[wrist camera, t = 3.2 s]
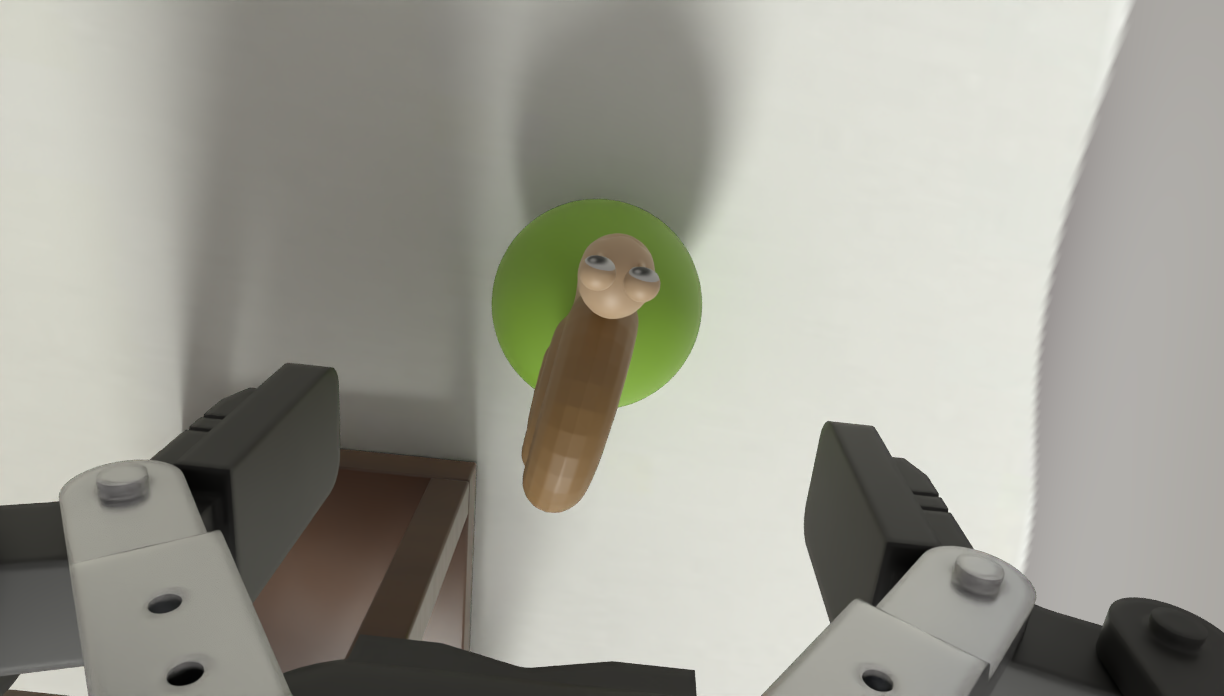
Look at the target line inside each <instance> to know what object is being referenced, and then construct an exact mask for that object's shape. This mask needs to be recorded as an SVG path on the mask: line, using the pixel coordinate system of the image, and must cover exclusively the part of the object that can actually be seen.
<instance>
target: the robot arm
mask: <svg viewBox="0 0 1224 696" xmlns="http://www.w3.org/2000/svg"><path fill="white" fill-rule="evenodd" d="M339 463H340V419H339V381H338V375H337V372H336V370H335V369H334V368H332V367H323V366H313V365H304V364H295V363H286V364H284V365H283V366H282V367H281V368H280V369H279V370H277V371H276V372H275V373H274V374H273V375H272V376H271V377H270V378H268V379H267V380H266V381H265V382H264V383H263V384H262V385H261V386H260V387H258V388H248V389H246V390H243V391H241V392H239V393H236V394H234V395H231V396H229V397H227V398H224V399H222V400H221V401H219V402H218V403H217V404H216V405H215V406H214V407H212V408H211V409H210V410H209V411H208V412H206V413H205V414H204V418H202V417H201V418H199V419H198V420H197V421H196V422H195V423H193V424H192V425H191V426H190V429H189V430H185V431H184V432H183V433H182V434H180V435H179V436H178V437H177V438H176V439H175V440H173V441H172V442H171V443H170V444H169V445H167V446H166V447H165V448H164V449H163V450H161V451H160V452H159V453H158V454H157V455H156V456H154V457H153V458H152V459H151V460H127V461H120V462H114V463H110V464H105V465H102V466H98V467H95V468H93V469H90V470H87V471H85V472H83V473H81V474H79V475H77V476H76V477H74V478H72V479H71V480H70V481H68V482H67V483H66V484H65V485H64V486H63V487H62V489H61V491H60V493H59V501H58V502H48V503H33V504H18V505H3V506H0V696H3V694H4V693H5V692H6V691H7V690H8V689H9V688H10V687H11V685H12V684H13V683H14V682H15V680H16V679H17V678H18V676H19V674H23V673H31V672H39V671H47V670H55V669H64V668H72V667H80V666H84V669H85V676H86V682H87V689H88V696H696V682H695V670H687V669H678V668H669V667H660V666H650V665H641V664H632V663H623V662H613V661H611V662H598V663H586V664H573V665H561V666H548V667H536V668H524V667H518V666H514V665H511V664H508V663H505V662H501V661H498V660H495V659H492V658H489V657H485V656H482V655H479V654H476V653H472V652H469V651H466V650H463V649H460V648H456V647H453V646H450V645H447V644H444V643H437V642H428V641H419V640H410V639H400V638H391V637H382V636H372V635H363V634H360V635H359V637H358V639H357V641H356V643H355V645H354V647H353V649H352V651H351V653H350V655H349V657H348V659H341V660H334V661H328V662H322V663H316V664H312V665H308V666H304V667H300V668H296V669H293V670H291V671H288V672H285V673H282V671H281V669H280V666H279V664H278V662H277V659H276V657H275V655H274V652H273V650H272V648H271V645H270V643H269V641H268V638H267V636H266V634H265V632H264V629H263V627H262V625H261V622H260V620H259V618H258V615H257V613H256V611H255V608H254V606H253V602H254V601H255V600H256V598H257V597H258V595H259V594H260V592H261V591H262V590H263V588H264V587H265V585H266V584H267V583H268V581H269V580H270V578H271V577H272V575H273V574H274V573H275V571H276V570H277V568H278V567H279V565H280V564H281V563H282V561H283V560H284V558H285V557H286V555H287V554H288V553H289V551H290V550H291V548H292V547H293V545H294V544H295V543H296V541H297V540H298V538H299V537H300V535H301V534H302V533H303V531H304V530H305V528H306V527H307V525H308V524H309V523H310V521H311V520H312V518H313V517H314V515H315V514H316V513H317V511H318V510H319V508H320V507H321V505H322V504H323V503H324V501H325V500H326V498H327V497H328V496H329V494H330V493H331V491H332V489H333V487H334V484H335V482H336V478H337V475H338V470H339ZM804 536H805V543H806V546H807V550H808V553H809V556H810V559H811V562H812V566H813V569H814V572H815V575H816V579H817V582H818V585H819V588H820V591H821V595H822V598H823V601H824V604H825V608H826V611H827V614H828V617H829V621H830V624H829V626H828V627H827V628H826V629H825V630H824V631H823V632H822V633H821V634H820V635H819V636H818V637H817V638H816V639H815V640H814V641H813V642H812V643H811V644H810V645H809V646H808V647H807V648H806V649H805V651H804V652H803V653H802V654H801V655H800V656H799V657H798V658H797V659H796V660H795V661H794V662H793V663H792V664H791V665H790V666H789V667H788V668H787V669H786V670H785V671H784V672H783V673H782V674H781V676H780V677H779V678H778V679H777V680H776V681H775V682H774V683H773V684H772V685H771V686H770V687H769V688H768V689H767V690H766V691H765V692H764V693H763V694H762V695H761V696H1224V633H1223V632H1222V631H1221V630H1219V629H1218V628H1217V627H1215V626H1214V625H1212V624H1211V623H1209V622H1207V621H1206V620H1204V619H1202V618H1201V617H1198V616H1196V615H1195V614H1193V613H1191V612H1188V611H1186V610H1184V609H1181V608H1179V607H1176V606H1173V605H1170V604H1168V603H1164V602H1160V601H1157V600H1152V599H1146V598H1123V599H1120V600H1117V601H1115V602H1114V603H1113V604H1112V605H1111V606H1110V608H1109V611H1108V613H1107V616H1106V619H1105V622H1104V624H1103V626H1101V625H1098V624H1094V623H1091V622H1088V621H1084V620H1081V619H1077V618H1074V617H1070V616H1067V615H1063V614H1060V613H1057V612H1054V611H1051V610H1048V609H1045V608H1042V607H1040V606H1038V605H1035V601H1036V592H1035V589H1034V587H1033V586H1032V584H1031V582H1030V581H1029V580H1028V579H1027V578H1026V577H1025V576H1024V575H1023V574H1022V573H1021V572H1020V571H1019V570H1017V569H1016V568H1014V567H1013V566H1012V565H1010V564H1008V563H1006V562H1005V561H1003V560H1001V559H999V558H997V557H995V556H992V555H990V554H987V553H984V552H981V551H978V550H975V549H973V547H972V546H971V544H970V542H969V541H968V539H967V538H966V536H965V535H964V533H963V531H962V530H961V528H960V527H959V525H958V524H957V522H956V520H955V519H954V517H953V516H952V514H951V513H948V508H947V506H946V505H945V503H944V501H943V500H942V498H940V497H939V494H938V492H937V490H936V489H935V487H934V486H933V484H932V483H931V481H930V479H929V478H928V476H927V475H925V474H924V473H923V472H921V471H920V470H919V469H917V468H916V467H915V466H914V465H912V464H911V463H910V462H908V461H907V460H906V459H904V458H895V457H892V456H891V455H890V453H889V451H888V449H887V448H886V446H885V444H884V442H883V441H882V439H881V437H880V436H879V434H878V432H877V430H876V429H875V427H873V426H869V425H859V424H850V423H840V422H831V421H827V422H826V423H825V424H824V426H823V428H822V431H821V435H820V439H819V444H818V449H817V453H816V458H815V463H814V468H813V473H812V478H811V483H810V487H809V492H808V497H807V502H806V507H805V516H804Z"/></svg>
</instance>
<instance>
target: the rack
mask: <svg viewBox="0 0 1224 696" xmlns="http://www.w3.org/2000/svg"><path fill="white" fill-rule="evenodd" d="M181 434H182V433H181ZM178 436H179V435H178ZM178 436H177V437H178ZM177 437H176V438H177ZM176 438H175V439H176ZM175 439H174V440H175ZM171 442H172V441H171ZM171 442H170V443H171ZM170 443H169V444H170ZM169 444H168V445H169ZM163 449H164V448H163ZM159 452H160V451H159ZM159 452H158V453H159ZM158 453H157V454H158ZM157 454H156V455H157ZM156 455H155V456H156ZM153 457H154V456H153ZM153 457H152V458H153ZM152 458H151V459H152ZM151 459H150V460H151ZM476 469H477V465H476V463H475V462H465V461H455V460H446V459H436V458H426V457H416V456H406V455H396V454H386V453H376V452H366V451H357V450H347V449H340V463H339V470H338V475H337V478H336V482H335V484H334V487H333V489H332V491H331V493H330V494H329V496H328V497H327V498H326V500H325V501H324V503H323V504H322V505H321V507H320V508H319V510H318V511H317V513H316V514H315V515H314V517H313V518H312V520H311V521H310V523H309V524H308V525H307V527H306V528H305V530H304V531H303V533H302V534H301V535H300V537H299V538H298V540H297V541H296V543H295V544H294V545H293V547H292V548H291V550H290V551H289V553H288V554H287V555H286V557H285V558H284V560H283V561H282V563H281V564H280V565H279V567H278V568H277V570H276V571H275V573H274V574H273V575H272V577H271V578H270V580H269V581H268V583H267V584H266V585H265V587H264V588H263V590H262V591H261V592H260V594H259V595H258V597H257V598H256V600H255V601H254V602H253V606H254V608H255V611H256V613H257V615H258V618H259V620H260V622H261V625H262V627H263V629H264V632H265V634H266V636H267V638H268V641H269V643H270V645H271V648H272V650H273V652H274V655H275V657H276V659H277V662H278V664H279V666H280V669H281V671H282V673H285V672H288V671H291V670H293V669H296V668H300V667H304V666H308V665H312V664H316V663H322V662H328V661H334V660H341V659H348V657H349V655H350V653H351V651H352V649H353V647H354V645H355V643H356V641H357V639H358V637H359V635H360V634H363V635H372V636H382V637H391V638H400V639H410V640H419V641H428V642H437V643H444V644H447V645H450V646H453V647H456V648H460V649H463V650H466V651H469V646H470V621H471V596H472V570H473V545H474V520H475V494H476ZM19 675H20V674H19ZM3 696H67V695H57V694H47V693H37V692H27V691H18V690H7V691H6V692H5V693H4V694H3Z"/></svg>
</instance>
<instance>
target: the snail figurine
mask: <svg viewBox="0 0 1224 696" xmlns="http://www.w3.org/2000/svg"><path fill="white" fill-rule="evenodd" d="M701 314H702V295H701V287H700V282H699V278H698V274H697V271H696V268H695V265H694V263H693V261H692V259H691V257H690V255H689V253H688V251H687V249H686V248H685V246H684V245H683V243H682V242H681V241H680V239H679V238H678V237H677V236H676V234H675V233H674V232H673V231H672V230H671V229H670V228H669V227H668V226H667V225H665V224H664V223H663V222H662V221H660V220H659V219H658V218H656V217H655V216H653V215H652V214H650V213H648V212H646V211H645V210H643V209H640V208H638V207H636V206H633V205H630V204H627V203H624V202H620V201H615V200H607V199H586V200H579V201H574V202H570V203H566V204H563V205H560V206H558V207H555V208H553V209H551V210H549V211H547V212H545V213H543V214H542V215H540V216H539V217H537V218H536V219H534V220H533V221H532V222H530V223H529V224H528V225H527V226H526V227H525V228H524V229H523V230H522V231H521V232H520V233H519V234H518V235H517V236H516V237H515V239H514V240H513V241H512V243H511V244H510V246H509V247H508V249H507V250H506V252H505V254H504V256H503V258H502V260H501V262H500V264H499V267H498V270H497V273H496V276H495V280H494V285H493V291H492V317H493V323H494V328H495V332H496V336H497V339H498V341H499V344H500V346H501V349H502V351H503V353H504V355H505V356H506V358H507V360H508V361H509V363H510V364H511V366H512V367H513V368H514V370H515V371H516V372H517V373H518V374H519V375H520V377H521V378H522V379H523V380H524V381H525V382H527V383H528V384H529V385H530V386H531V387H533V388H534V389H535V391H534V396H533V400H532V404H531V409H530V413H529V418H528V424H527V431H526V434H525V438H524V442H523V447H522V460H523V463H524V465H525V468H524V473H523V489H524V492H525V494H526V497H527V498H528V500H529V501H530V502H531V503H532V504H533V505H534V506H535V507H536V508H538V509H540V510H543V511H545V512H551V513H558V512H562V511H565V510H567V509H570V508H571V507H573V506H574V505H575V504H577V503H578V502H579V501H580V500H581V498H582V497H583V496H584V494H585V492H586V491H587V489H588V487H589V485H590V483H591V481H592V478H593V476H594V474H595V471H596V469H597V467H598V464H599V461H600V459H601V456H602V453H603V450H604V447H605V444H606V441H607V438H608V435H609V432H610V429H611V426H612V423H613V420H614V417H615V414H616V411H617V408H618V407H622V406H626V405H629V404H632V403H635V402H637V401H639V400H642V399H644V398H646V397H647V396H649V395H651V394H653V393H654V392H656V391H657V390H659V389H660V388H661V387H663V386H664V385H665V384H666V383H667V382H668V381H669V380H670V379H671V378H672V377H673V376H674V375H675V374H676V373H677V372H678V371H679V369H680V368H681V367H682V365H683V364H684V362H685V361H686V359H687V358H688V356H689V354H690V352H691V350H692V348H693V346H694V343H695V341H696V338H697V335H698V331H699V327H700V322H701Z"/></svg>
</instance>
